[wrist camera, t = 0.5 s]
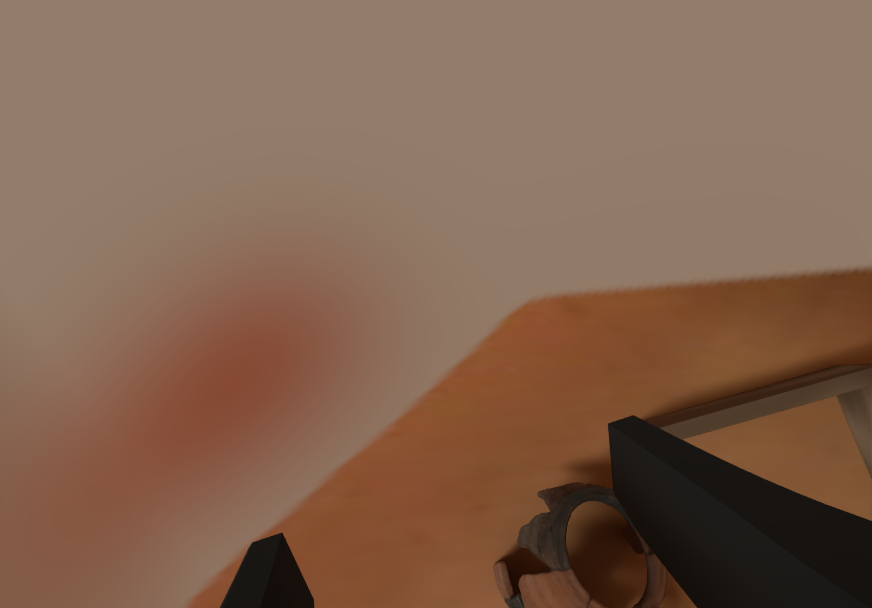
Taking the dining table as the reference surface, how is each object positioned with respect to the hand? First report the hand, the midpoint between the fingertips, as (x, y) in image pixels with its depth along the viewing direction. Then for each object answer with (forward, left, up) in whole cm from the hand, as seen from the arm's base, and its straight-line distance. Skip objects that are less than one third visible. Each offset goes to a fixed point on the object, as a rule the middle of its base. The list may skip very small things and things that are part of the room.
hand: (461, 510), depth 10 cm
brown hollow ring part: (-11, -5, -25) cm, 28 cm away
